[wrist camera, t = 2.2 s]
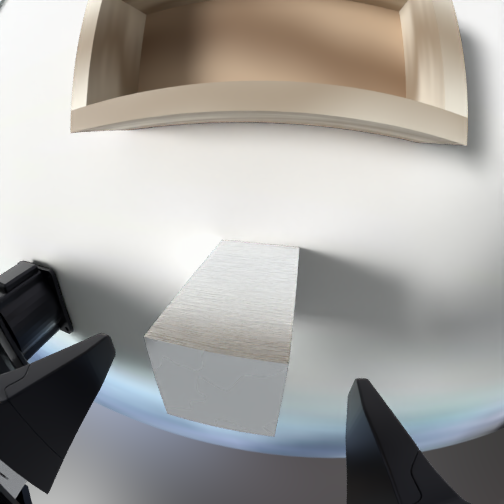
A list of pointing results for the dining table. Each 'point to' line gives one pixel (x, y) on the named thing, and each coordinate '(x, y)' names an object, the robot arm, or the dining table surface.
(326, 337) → the dining table surface
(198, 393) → the light grey rectangular block
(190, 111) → the beige tray
